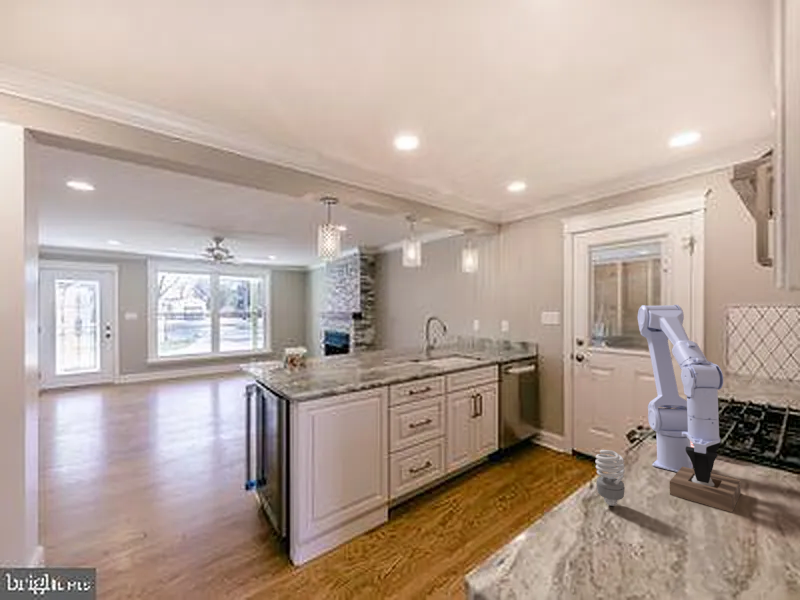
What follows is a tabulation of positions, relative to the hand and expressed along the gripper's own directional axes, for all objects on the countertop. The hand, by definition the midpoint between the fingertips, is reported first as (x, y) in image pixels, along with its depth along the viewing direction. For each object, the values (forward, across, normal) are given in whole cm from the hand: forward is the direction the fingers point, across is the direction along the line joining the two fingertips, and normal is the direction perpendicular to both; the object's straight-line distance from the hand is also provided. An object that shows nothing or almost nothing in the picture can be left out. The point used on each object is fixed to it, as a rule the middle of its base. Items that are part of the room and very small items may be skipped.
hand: (704, 475), depth 90 cm
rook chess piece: (+3, 0, 0) cm, 3 cm away
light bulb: (+4, +20, -15) cm, 25 cm away
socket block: (+4, 0, 0) cm, 4 cm away
